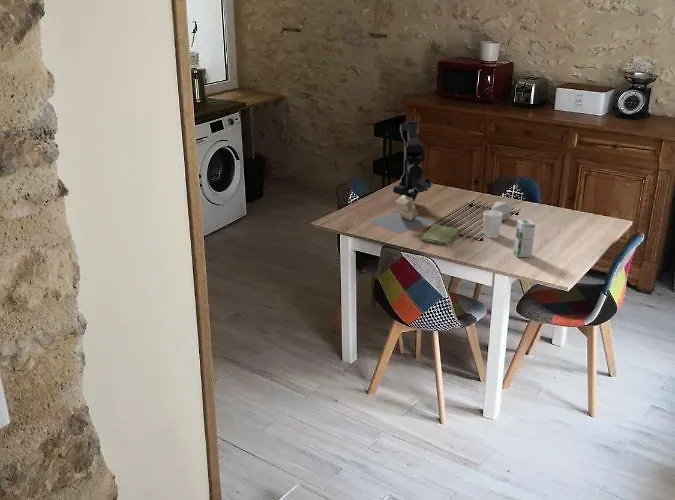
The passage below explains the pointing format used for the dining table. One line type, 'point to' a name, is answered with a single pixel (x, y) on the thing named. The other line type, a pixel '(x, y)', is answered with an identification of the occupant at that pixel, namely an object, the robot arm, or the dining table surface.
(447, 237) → the washcloth
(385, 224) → the rubber pad
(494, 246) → the dining table surface
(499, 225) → the white cup
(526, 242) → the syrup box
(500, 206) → the die
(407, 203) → the maple block
